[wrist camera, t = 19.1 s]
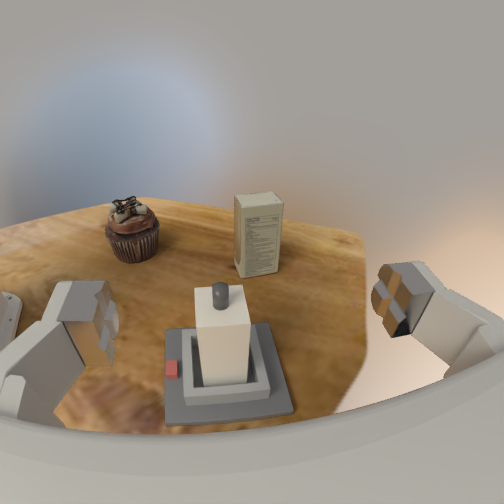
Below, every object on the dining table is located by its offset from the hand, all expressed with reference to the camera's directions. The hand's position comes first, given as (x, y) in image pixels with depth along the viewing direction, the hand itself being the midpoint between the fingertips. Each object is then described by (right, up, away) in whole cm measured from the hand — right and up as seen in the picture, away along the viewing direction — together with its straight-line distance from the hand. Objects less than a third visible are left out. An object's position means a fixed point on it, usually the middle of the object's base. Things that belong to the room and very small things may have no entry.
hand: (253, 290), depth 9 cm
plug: (-3, -12, +23) cm, 26 cm away
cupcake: (-21, +1, +43) cm, 48 cm away
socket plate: (-3, -12, +24) cm, 27 cm away
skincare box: (0, -2, +41) cm, 41 cm away
